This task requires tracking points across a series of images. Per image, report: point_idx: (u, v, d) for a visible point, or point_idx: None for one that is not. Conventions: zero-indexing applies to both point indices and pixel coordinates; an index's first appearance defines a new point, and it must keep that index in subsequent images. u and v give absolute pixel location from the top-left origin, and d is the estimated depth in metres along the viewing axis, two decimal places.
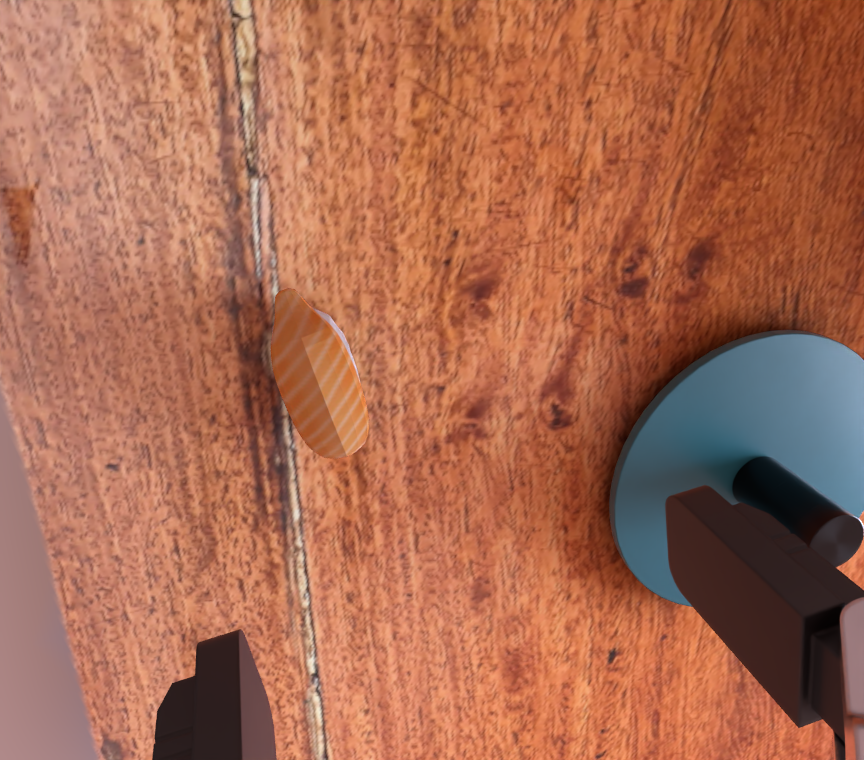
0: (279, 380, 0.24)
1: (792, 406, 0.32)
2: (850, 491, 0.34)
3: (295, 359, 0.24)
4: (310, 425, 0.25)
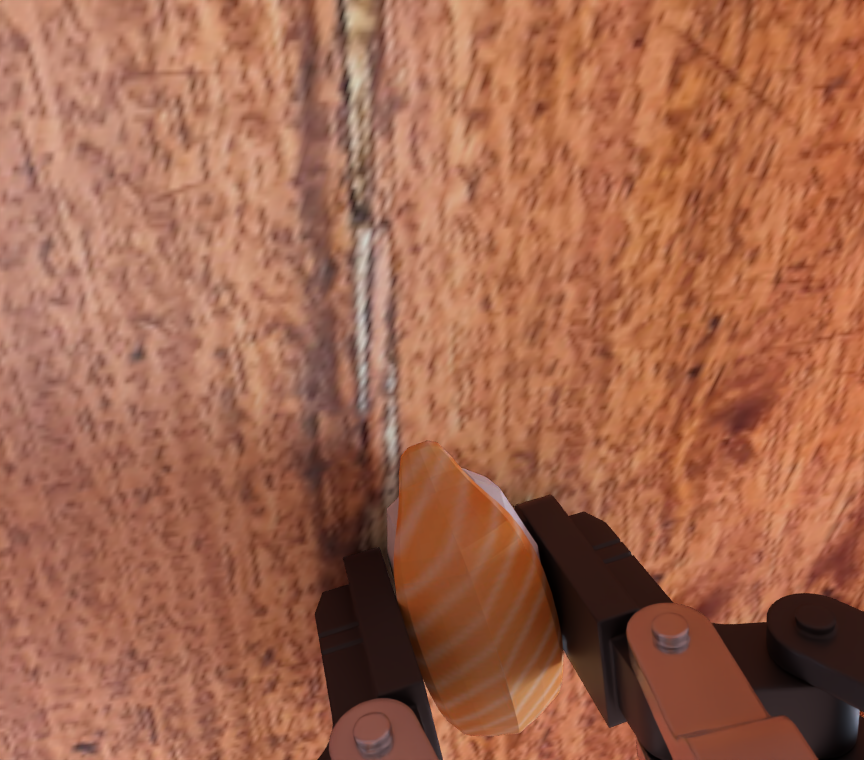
0: (411, 627, 0.12)
1: None
2: None
3: (447, 593, 0.12)
4: (465, 704, 0.13)
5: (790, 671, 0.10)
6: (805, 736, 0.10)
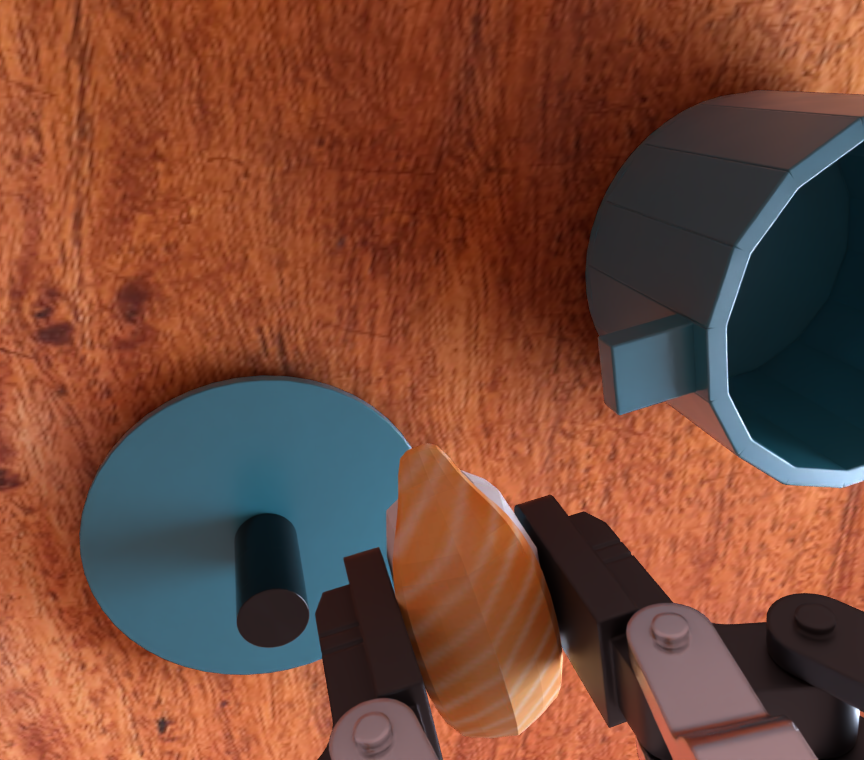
0: (410, 630, 0.12)
1: (286, 458, 0.29)
2: None
3: (445, 596, 0.12)
4: (464, 706, 0.13)
5: (790, 671, 0.10)
6: (805, 736, 0.10)
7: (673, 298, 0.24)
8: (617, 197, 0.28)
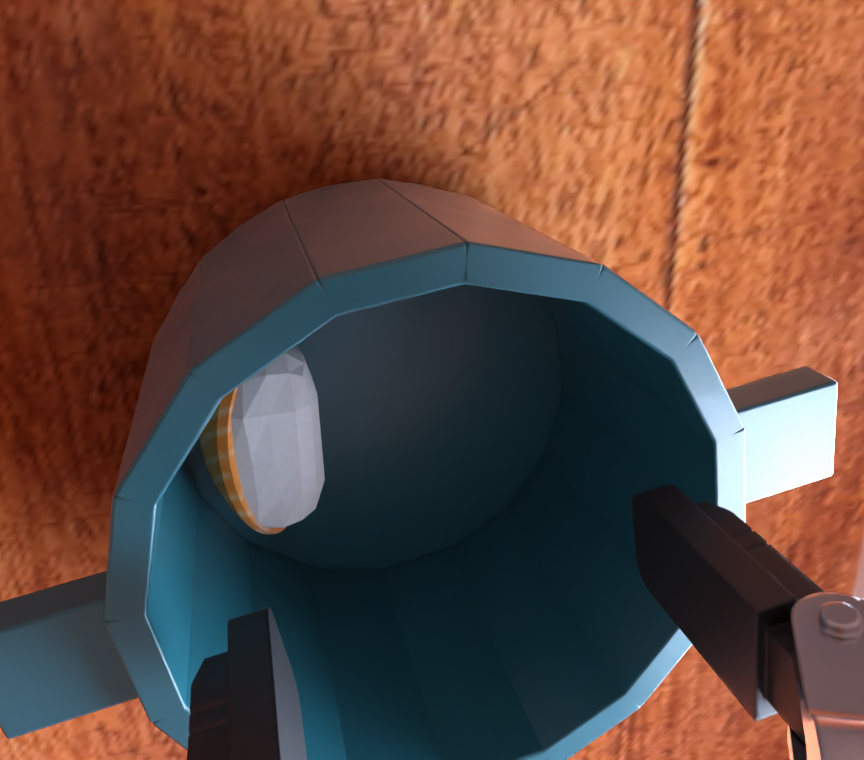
0: None
1: None
2: None
3: None
4: None
5: None
6: None
7: None
8: (156, 337, 0.19)
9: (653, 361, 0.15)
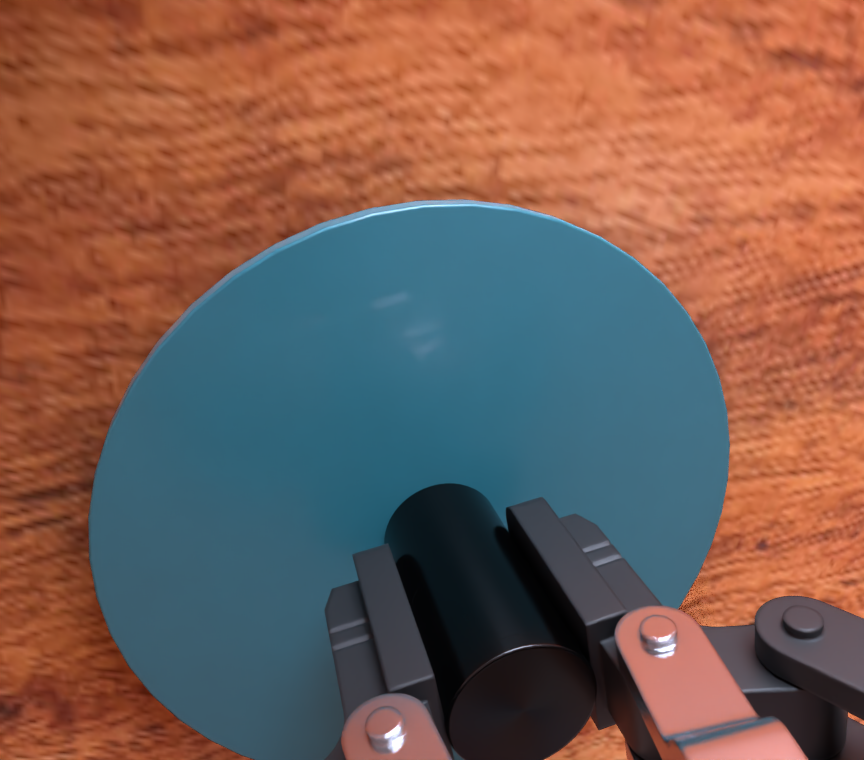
0: None
1: (268, 509, 0.14)
2: (510, 285, 0.14)
3: None
4: None
5: (777, 674, 0.10)
6: (793, 739, 0.10)
7: None
8: None
9: None
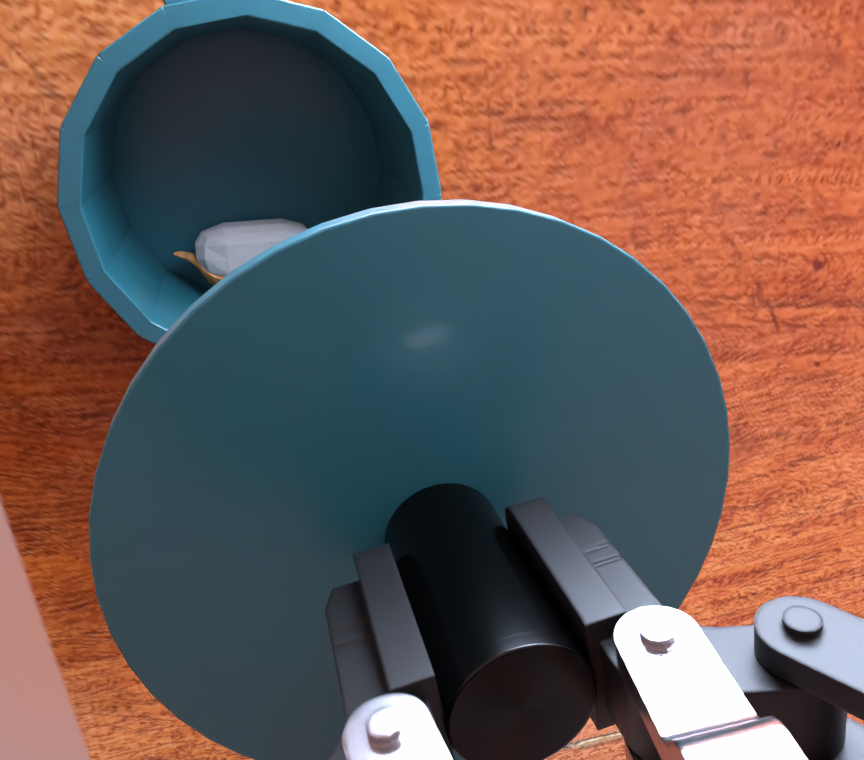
0: None
1: (269, 509, 0.14)
2: (511, 285, 0.14)
3: None
4: None
5: (777, 674, 0.10)
6: None
7: None
8: None
9: (133, 63, 0.24)
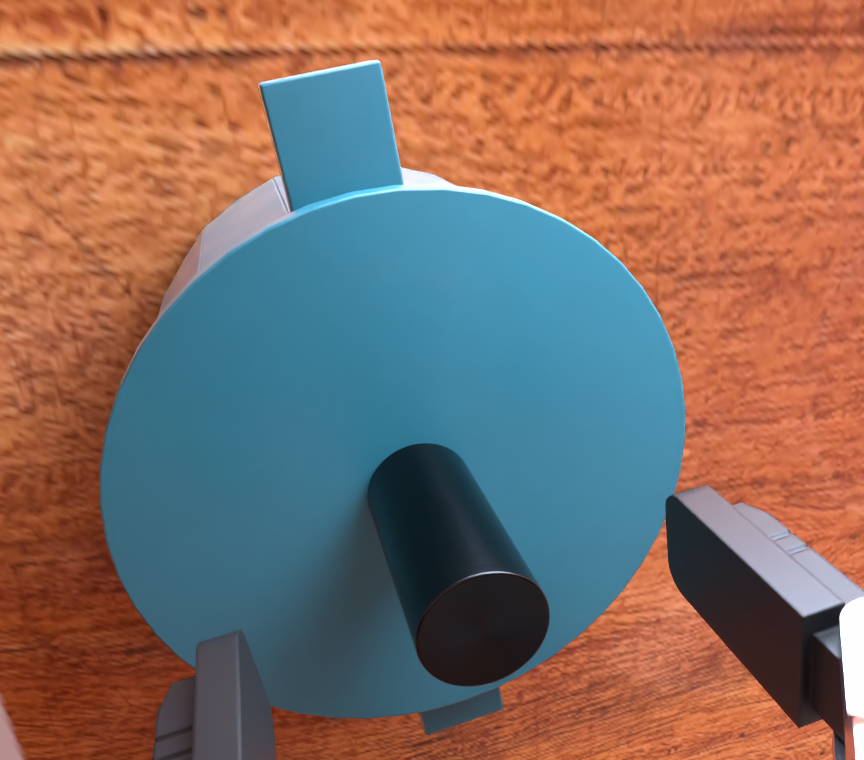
0: None
1: (262, 464, 0.16)
2: (480, 261, 0.15)
3: None
4: None
5: None
6: None
7: None
8: None
9: None
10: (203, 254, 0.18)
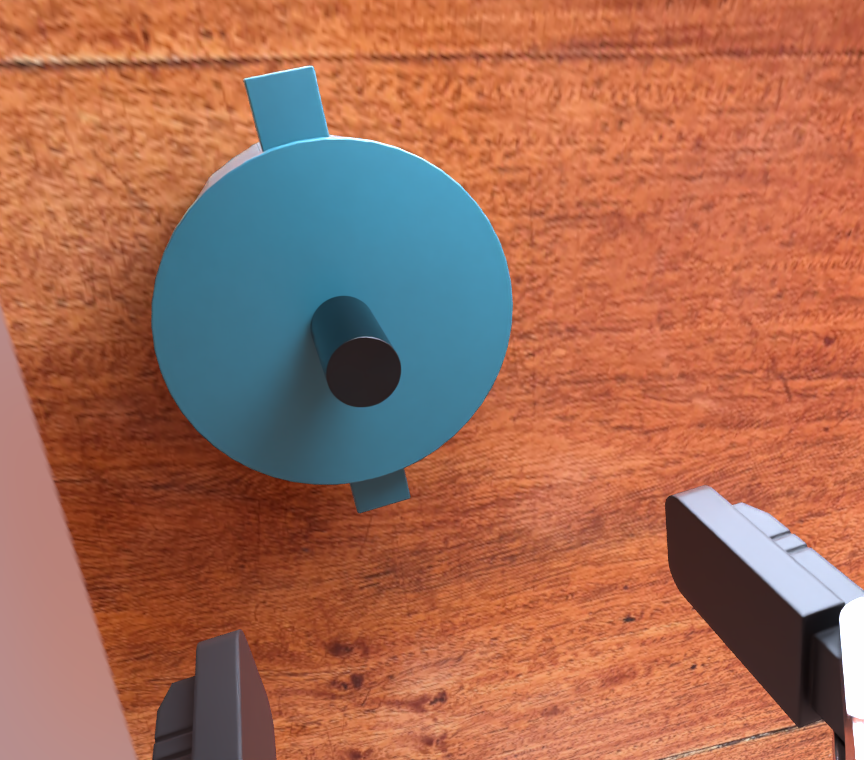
0: None
1: (246, 304, 0.27)
2: (373, 182, 0.26)
3: None
4: None
5: None
6: None
7: None
8: None
9: None
10: None
